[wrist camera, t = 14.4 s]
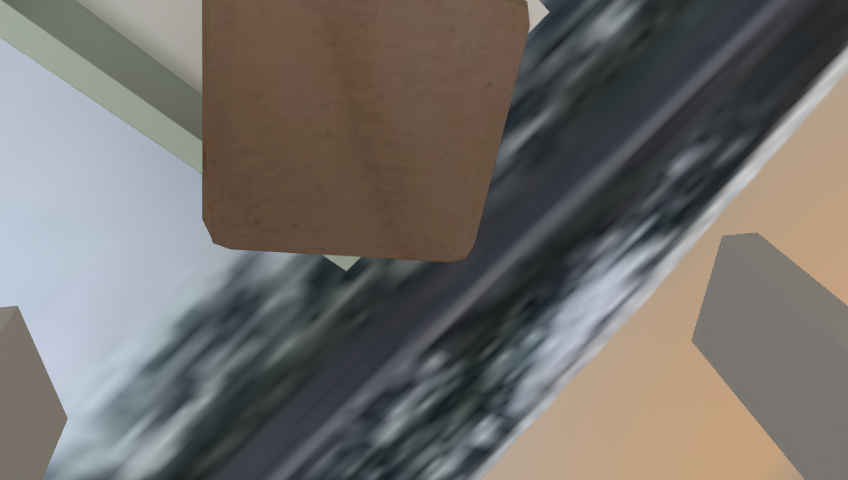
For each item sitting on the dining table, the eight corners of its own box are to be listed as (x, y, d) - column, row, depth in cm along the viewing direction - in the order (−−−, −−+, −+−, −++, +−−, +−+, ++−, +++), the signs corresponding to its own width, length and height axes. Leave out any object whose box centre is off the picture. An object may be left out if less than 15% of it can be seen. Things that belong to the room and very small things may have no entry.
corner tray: (544, 9, 39) (585, 34, 34) (340, 218, 45) (346, 271, 39) (228, -364, 28) (209, -421, 22) (6, -23, 34) (-54, 1, 28)
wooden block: (244, 81, 38) (198, 258, 21) (250, -102, 33) (196, -61, 16) (403, 100, 40) (476, 274, 23) (431, -68, 35) (549, -1, 18)
